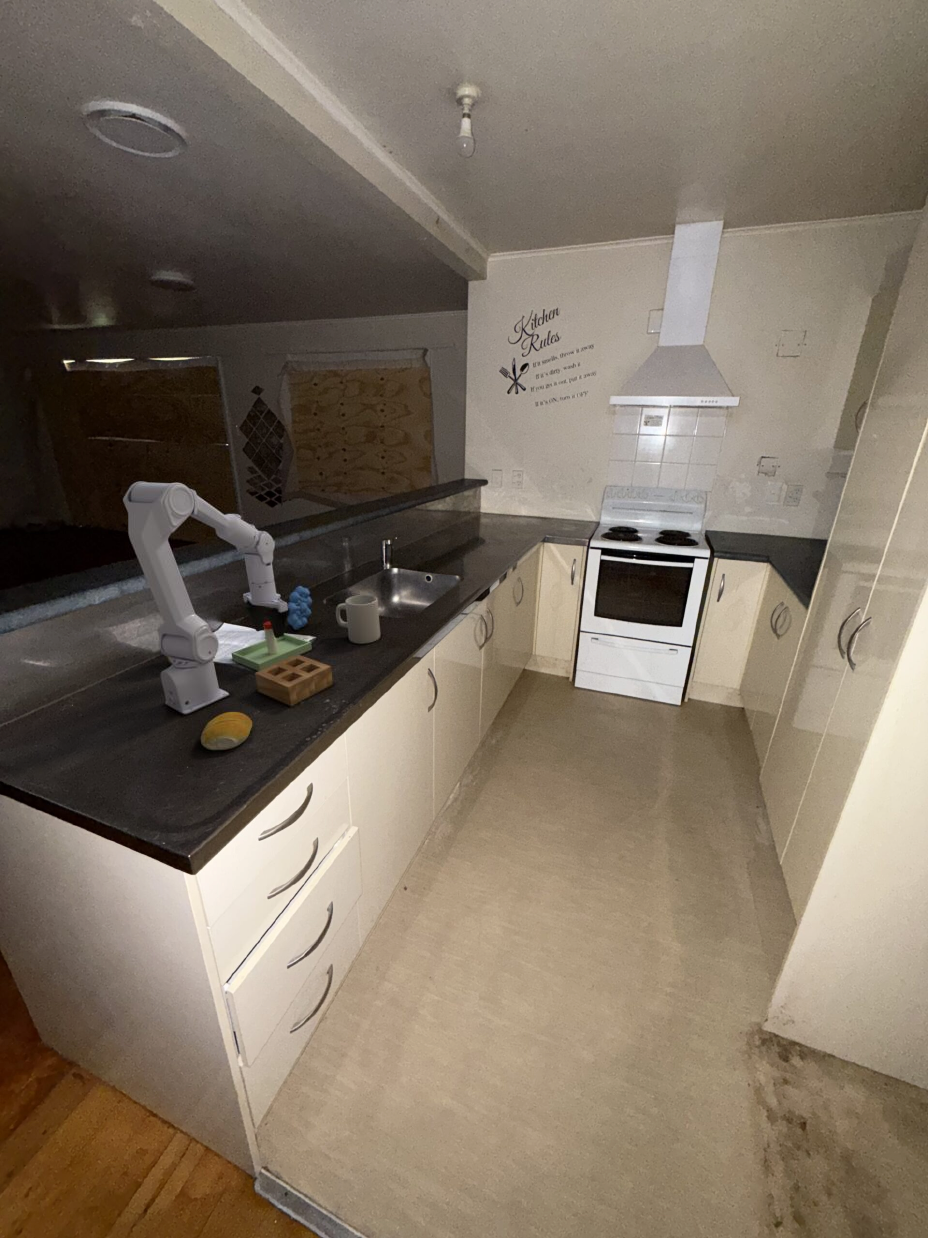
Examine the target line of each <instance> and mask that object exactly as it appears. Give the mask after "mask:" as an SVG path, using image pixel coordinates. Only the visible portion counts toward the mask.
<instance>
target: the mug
mask: <svg viewBox="0 0 928 1238" xmlns="http://www.w3.org/2000/svg"><path fill="white" fill-rule="evenodd" d="M378 599H379V598H377V597H376V596H374V595H371V594H358V595H352V596H350V597H348V598H346V599H345V602H344V603H339V604H338V605H337V606H336V608H335V619H336V622H337V624H338V625H339V627H341V628H344V629H347V635H348V640H349V641H350V642H351V643H354V644H358V645H359V644H371V643H375V642H376V641H378V640H379V639H380V638H381V627H380V614H379V613H380V612H379V602H378V601H379V600H378ZM341 610H345V612H346V621H344V620H343V619H342V618H341Z"/></svg>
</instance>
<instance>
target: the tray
mask: <svg viewBox="0 0 928 1238" xmlns="http://www.w3.org/2000/svg"><path fill="white" fill-rule="evenodd" d="M276 640H277V647H278V653H277V654H273V655H270V654H268V649H267V643H266V639H264V640H262V641H259V642H256V643H253V644H251V645H249V646H245V647H243V648H241V649H238V650H236V651H233V652H231V658H232V659H231V660H232V661H233V662H236V663H238V664H240V665H243V666H245V667H247V668H249V669H250V668H251V669H253V670H255V671H257V672H259V671H261V670H263V669H265V668H268V667H270V666H272V665H275V664H277V663H279V662H281V661H284V660H286V659H288V658H291V657H293V656H295V655H302V654H304V653H307V652H309V651H311V650H313V645H312V642H311V641H309V640H305V639H303V638H300V637H296V636H293V635H291V634H288V633H285V632H284V636H282V637H279V638H276Z"/></svg>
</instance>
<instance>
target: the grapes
mask: <svg viewBox="0 0 928 1238" xmlns="http://www.w3.org/2000/svg"><path fill="white" fill-rule="evenodd" d="M310 594H311V592H310V589H308V588H307V587H304V586H302V585H298V586H296V587H295V589H294V591H292V592H291V593H290V594H289V596H288V599H289V602H288V603H287V608H290V613H289V615H288V617H287V620H286V622H287V624H289V625H290V626H291V627H292V629H293V630H295V631H299V630H300V629H301V628H304V627H305V626H306V625H307V624H308V620H307V619H308V618H309V617H310V616H311V615H312V611H311V609H310V606H311V605H312V604H313V600H312V598H311V596H310Z"/></svg>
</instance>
